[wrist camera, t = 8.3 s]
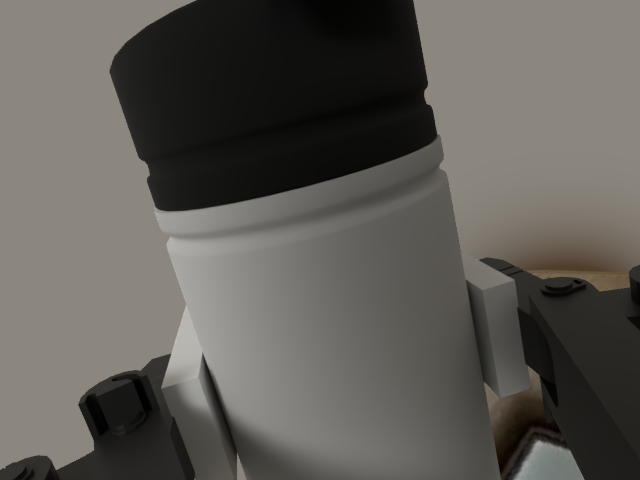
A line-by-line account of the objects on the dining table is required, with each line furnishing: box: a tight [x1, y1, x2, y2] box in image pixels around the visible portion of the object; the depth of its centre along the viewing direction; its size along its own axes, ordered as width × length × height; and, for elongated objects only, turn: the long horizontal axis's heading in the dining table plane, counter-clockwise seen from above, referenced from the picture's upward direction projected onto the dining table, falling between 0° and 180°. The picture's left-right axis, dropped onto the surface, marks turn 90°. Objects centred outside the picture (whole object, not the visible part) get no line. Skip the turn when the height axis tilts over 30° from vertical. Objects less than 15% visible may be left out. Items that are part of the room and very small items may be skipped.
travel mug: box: [110, 0, 501, 480], centre depth 12 cm, size 6×7×20 cm
